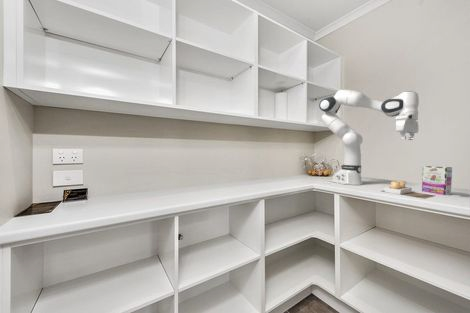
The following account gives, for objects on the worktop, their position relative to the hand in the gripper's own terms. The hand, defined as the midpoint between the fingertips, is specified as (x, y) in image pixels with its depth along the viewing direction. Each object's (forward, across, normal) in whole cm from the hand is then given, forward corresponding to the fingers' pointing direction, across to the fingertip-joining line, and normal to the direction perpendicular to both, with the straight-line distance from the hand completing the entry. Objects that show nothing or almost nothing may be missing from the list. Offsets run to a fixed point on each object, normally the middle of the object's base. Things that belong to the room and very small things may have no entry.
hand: (407, 139), depth 120 cm
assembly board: (+32, +15, +7) cm, 36 cm away
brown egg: (+31, +18, +3) cm, 36 cm away
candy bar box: (+32, -3, +13) cm, 35 cm away
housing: (+31, +15, +3) cm, 35 cm away
